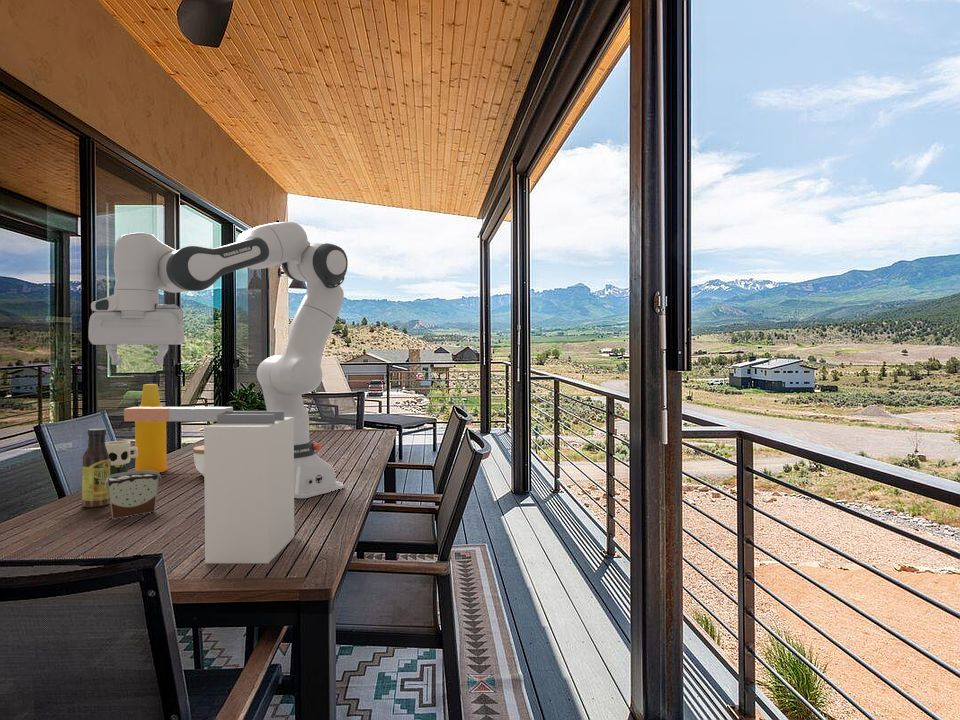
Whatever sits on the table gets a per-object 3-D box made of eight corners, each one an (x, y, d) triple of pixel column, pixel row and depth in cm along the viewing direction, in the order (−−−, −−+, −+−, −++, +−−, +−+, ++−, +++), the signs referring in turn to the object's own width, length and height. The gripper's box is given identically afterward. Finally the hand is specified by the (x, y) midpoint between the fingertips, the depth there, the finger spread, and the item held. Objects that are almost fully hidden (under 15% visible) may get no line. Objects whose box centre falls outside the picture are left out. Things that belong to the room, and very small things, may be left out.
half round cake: (154, 506, 156) (153, 468, 156) (161, 511, 152) (161, 471, 151) (98, 515, 147) (98, 475, 147) (105, 521, 143) (104, 478, 143)
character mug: (97, 491, 173) (97, 445, 173) (93, 486, 178) (93, 442, 178) (140, 485, 180) (140, 442, 180) (135, 481, 185) (135, 439, 185)
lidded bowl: (192, 480, 187) (192, 444, 187) (194, 472, 199) (194, 439, 198) (236, 476, 192) (236, 442, 192) (235, 469, 204) (235, 437, 203)
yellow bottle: (151, 468, 206) (150, 383, 206) (173, 469, 203) (172, 383, 203) (128, 473, 197) (127, 384, 197) (151, 475, 195) (150, 385, 194)
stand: (205, 563, 115) (203, 417, 114) (238, 537, 131) (237, 408, 130) (268, 563, 115) (267, 417, 114) (294, 537, 131) (293, 408, 130)
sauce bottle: (96, 509, 153) (95, 431, 153) (75, 507, 155) (74, 430, 154) (116, 502, 160) (115, 427, 159) (96, 501, 161) (95, 427, 161)
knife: (124, 421, 120) (124, 408, 120) (135, 418, 124) (135, 406, 124) (224, 421, 120) (224, 408, 120) (232, 418, 124) (232, 406, 124)
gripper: (189, 305, 140) (189, 364, 141) (101, 305, 140) (102, 364, 141) (175, 302, 134) (176, 365, 134) (83, 303, 134) (84, 365, 134)
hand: (137, 364), depth 137 cm, fingers open, 8 cm apart
